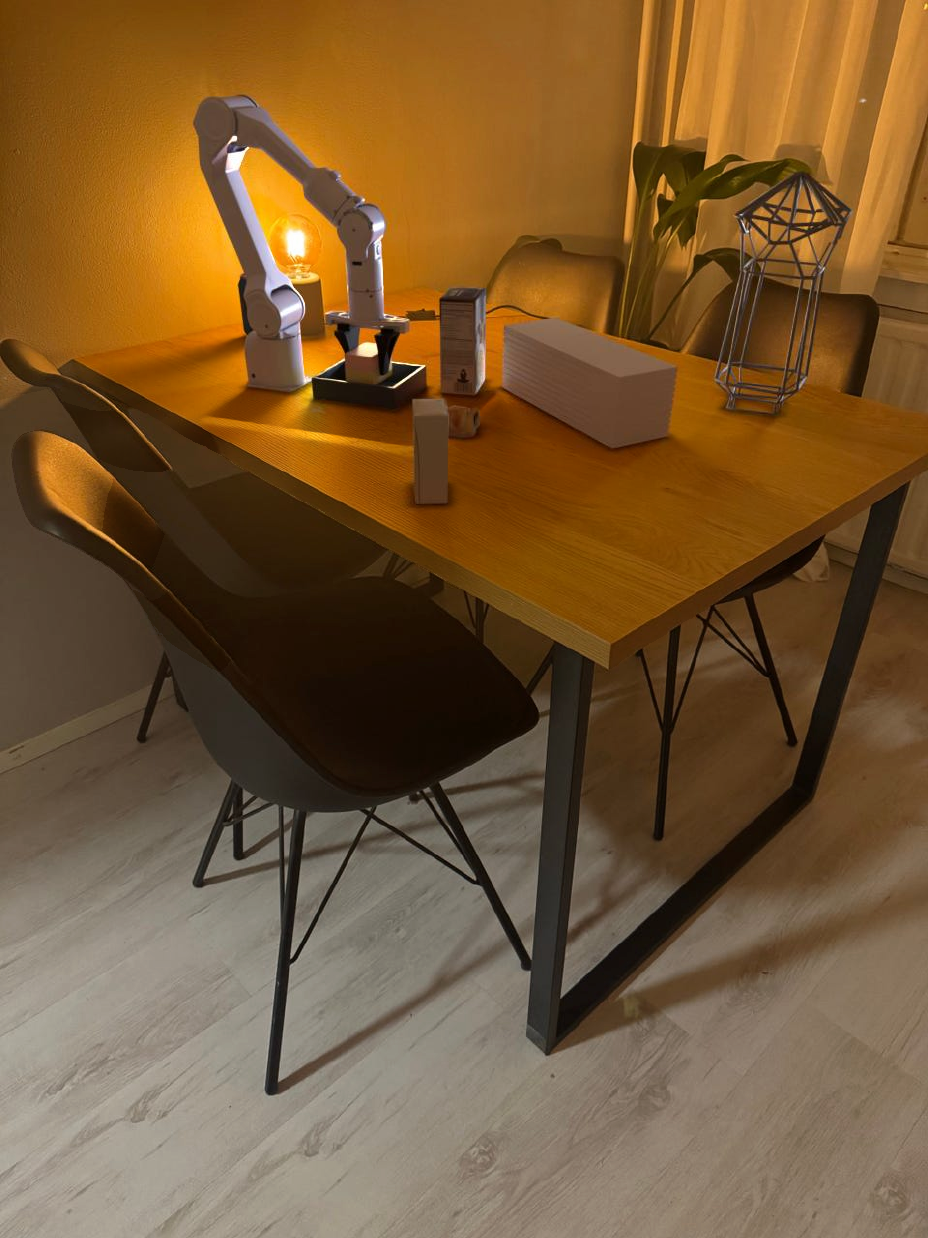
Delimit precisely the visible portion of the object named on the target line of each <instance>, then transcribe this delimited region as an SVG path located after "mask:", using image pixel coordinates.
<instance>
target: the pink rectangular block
mask: <svg viewBox="0 0 928 1238" xmlns="http://www.w3.org/2000/svg"><path fill="white" fill-rule="evenodd" d="M392 356H393V355H392ZM392 356H391V360H390V365H389V373H387V374H386V375H384V376H382V375H380V371H379V357H378V350H377V345H376V342H375V343H374V342H368V341H367V342H363V343H362V344H359V346H358V347H356V348H354V349H353V350H351V351H349V352H347V353H346V354H345V353H344V358H345V368H346V381H349V382H357V383H365V384H372V385H377V384H379V383H380V382H382V381H383V380H385V379H386V378H388V377H389V376H391V375H392V362H393V359H392V358H393V357H392Z"/></svg>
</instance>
